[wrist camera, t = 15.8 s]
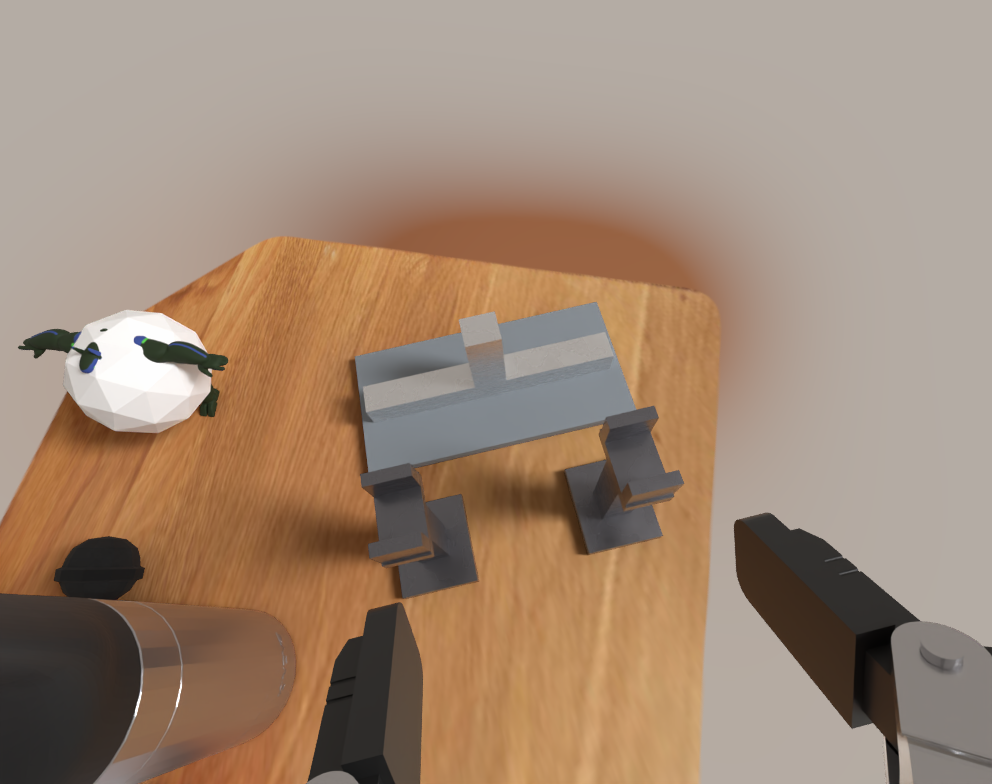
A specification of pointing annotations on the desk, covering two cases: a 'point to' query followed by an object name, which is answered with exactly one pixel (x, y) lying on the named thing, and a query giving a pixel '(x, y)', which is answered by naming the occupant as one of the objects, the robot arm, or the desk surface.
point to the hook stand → (593, 487)
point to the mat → (495, 415)
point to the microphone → (100, 569)
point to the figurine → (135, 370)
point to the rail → (487, 371)
